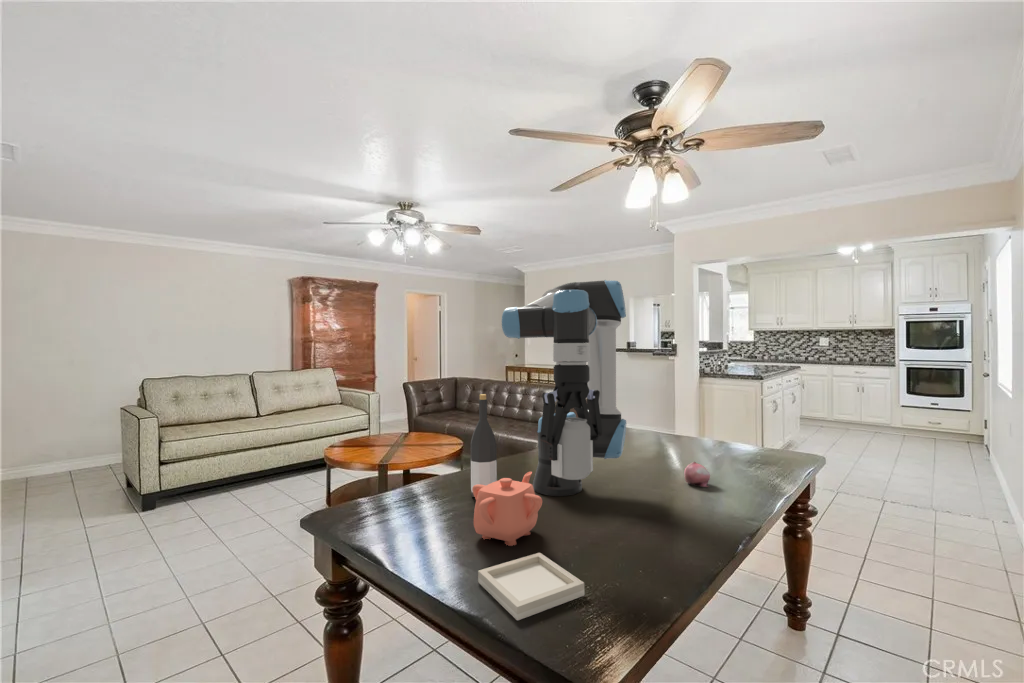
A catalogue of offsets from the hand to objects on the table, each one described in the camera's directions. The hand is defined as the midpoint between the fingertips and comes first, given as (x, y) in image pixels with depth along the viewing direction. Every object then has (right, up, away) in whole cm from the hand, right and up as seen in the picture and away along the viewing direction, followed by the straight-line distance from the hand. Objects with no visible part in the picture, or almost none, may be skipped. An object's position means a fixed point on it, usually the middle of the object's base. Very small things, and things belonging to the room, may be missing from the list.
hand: (572, 472), depth 95 cm
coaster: (-9, -18, -12) cm, 23 cm away
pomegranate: (+46, -18, +48) cm, 68 cm away
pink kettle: (-14, -18, +12) cm, 26 cm away
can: (0, -1, 0) cm, 1 cm away
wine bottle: (-21, -19, +40) cm, 49 cm away
